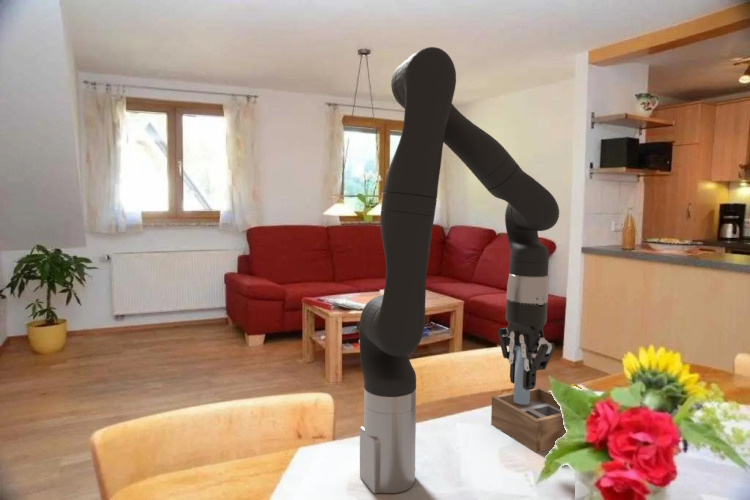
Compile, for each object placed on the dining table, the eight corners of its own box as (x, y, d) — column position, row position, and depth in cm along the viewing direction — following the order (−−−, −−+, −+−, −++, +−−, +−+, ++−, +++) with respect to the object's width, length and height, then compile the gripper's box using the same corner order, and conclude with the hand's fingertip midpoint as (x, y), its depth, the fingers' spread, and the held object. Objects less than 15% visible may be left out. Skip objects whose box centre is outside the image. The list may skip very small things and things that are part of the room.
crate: (535, 452, 100) (537, 421, 100) (491, 424, 113) (491, 396, 112) (586, 438, 106) (587, 409, 106) (538, 413, 119) (539, 386, 118)
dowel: (520, 405, 95) (523, 348, 94) (510, 399, 98) (513, 344, 97) (532, 403, 97) (535, 347, 96) (521, 397, 99) (524, 343, 98)
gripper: (487, 292, 100) (483, 376, 102) (538, 306, 88) (533, 401, 89) (517, 290, 103) (512, 372, 105) (570, 303, 91) (564, 396, 92)
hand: (522, 385), depth 97 cm, fingers closed on dowel, 3 cm apart
